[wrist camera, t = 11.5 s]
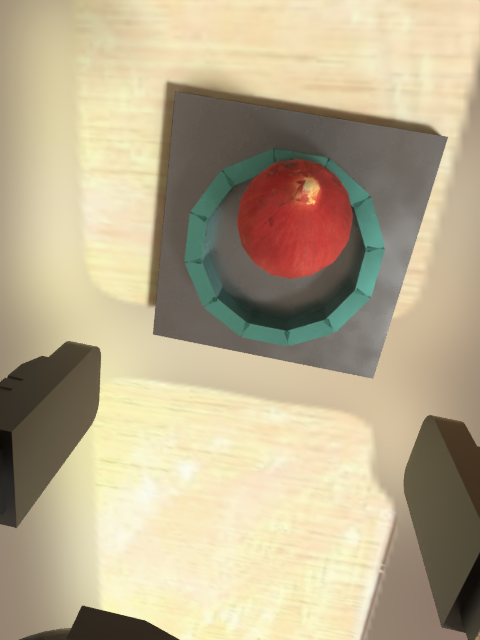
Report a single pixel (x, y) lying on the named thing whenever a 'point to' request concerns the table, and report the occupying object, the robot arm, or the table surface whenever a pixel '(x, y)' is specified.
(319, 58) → the table surface
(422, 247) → the table surface
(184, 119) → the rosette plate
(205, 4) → the table surface
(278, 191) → the onion
